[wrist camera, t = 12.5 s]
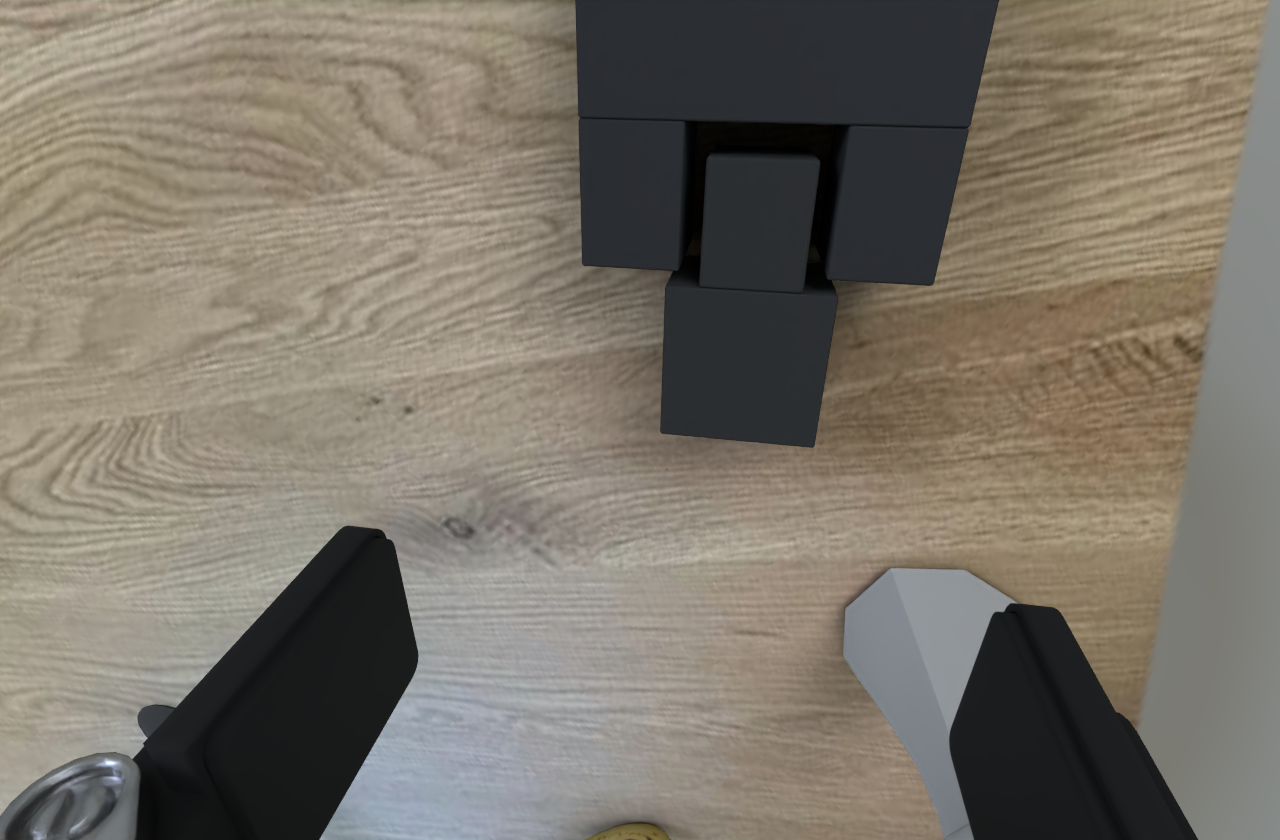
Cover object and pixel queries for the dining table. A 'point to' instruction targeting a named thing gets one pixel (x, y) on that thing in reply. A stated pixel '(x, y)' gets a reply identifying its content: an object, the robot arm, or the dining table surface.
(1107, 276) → the dining table surface
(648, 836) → the banana
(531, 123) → the dining table surface
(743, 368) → the pad
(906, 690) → the flask
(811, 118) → the notch pad
